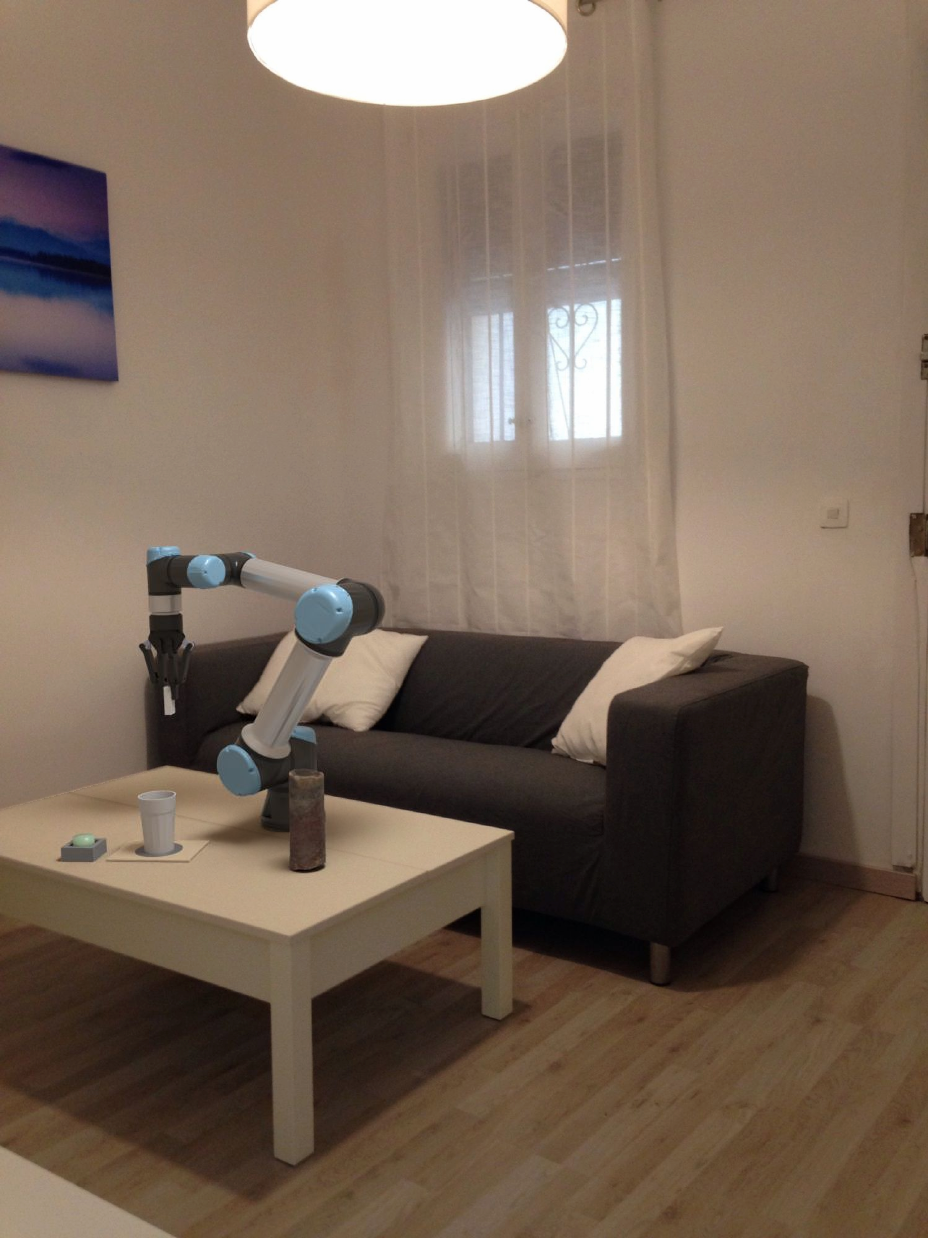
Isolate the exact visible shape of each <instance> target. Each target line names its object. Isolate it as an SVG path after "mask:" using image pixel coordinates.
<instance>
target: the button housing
mask: <svg viewBox="0 0 928 1238" xmlns="http://www.w3.org/2000/svg"><path fill="white" fill-rule="evenodd" d="M94 839H95V843H94V844H93V845H92V846H90V847H83V846H73V839H71V840H70V841H69V842H67V843H65V844H63V846H61V847H60V857H61V858H60V859H61V862H65V863H66V862H70V863H71V862H73V863H74V862H76V863H94V862H95V861H97V860H98V859H99V858H101V857H102V856H103V855H105V854H106V853H107V852H108V847H107V846H108V844H107V843H108V842H107V838H106V837H94Z"/></svg>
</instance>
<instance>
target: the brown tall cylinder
mask: <svg viewBox="0 0 928 1238" xmlns="http://www.w3.org/2000/svg"><path fill="white" fill-rule="evenodd" d="M325 813H326V810H325V775H324V773H323V771H318V770H317V771H314V770H311V769H294V770H292V771H290V772H289V815H290V816H289V818H290V831H289V868H290V869H292V870H293V871H297V870H305V871H308V870H313V869H316V868H320V867H322V866H323V865H325V863H326V862H327V858H326V857H327V850H326V849H327V848H326V840H327V839H326V822H325Z"/></svg>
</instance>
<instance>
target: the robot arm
mask: <svg viewBox="0 0 928 1238" xmlns="http://www.w3.org/2000/svg"><path fill="white" fill-rule="evenodd" d="M145 562H146V563H145V567H146V577H147V578H146V579H147V598H148V600H147V601H148V602H147V605H148V612H149V613H151V614H149V615H148V624H149V625H148V626H149V634H148V637H147V639H146V640H145V641H144V642H141V643H139V645H138V648H139V649H140V651H141V652H142V654H143V657H144V661H145V664H146V668H147V671H148V674H149V678H150V682H151V684H153V685H157V686H158V687H159V697H160V700H161V701H164V715H165V716H167V715H169V716H172V715H173V714H175V713H176V707H175V706H176V704H175V703H176V702H175V701H176V700H178V698H179V685H181V684H183V683H185V682H186V681H187V675H188V671H189V670H188V669H189V665H190V661H191V656H192V655H191V654H192V653H193V650H194V648H195V647H196V643H195V641H190V640H189V639H187V638H186V635H185V633H184V621H183V618H184V617H183V614H182V613H181V612H182V611H183V600H182V599H183V597H182V596H183V595H182V593H183V592H182V588H183V589H184V588H185V589H199V590H211V589H217V588H218V587H226V586H235V587H239V588H241V589H246V590H250V591H254V592H257V593H261V594H263V595H267V596H270V597H274V598H278V599H281V600H284V601H287V602H290V603H294V604H296V605H295V608H294V611H293V617H294V619H295V621H294V626H295V627H294V630H293V633H294V636H295V638H296V641H295V643H294V645H293V647H292V648H291V651H290V653H289V655H288V657H287V659H286V661H285V662H284V664H283V666H282V669H280V670H281V671H280V672H279V674H278V676H277V678H276V679H275V681H274V683H273V685H272V688H271V689H270V691H269V693H268V695H267V696H266V699H265V700H264V702H263V704H262V706H261V708H260V710H259V712H258V714H257V716H256V718H254V719H255V720H254V721H253V723H248V724H246V725H245V726H244V727H242V730H241V731H240V733H239V735H238V737H237V739H236V741H235V742H234V744H229V745H227V746H226V747H224V748H222V749H221V750H220V752H219V754H218V756H217V760H216V761H217V762H216V770H217V773H218V776H219V780H220V781H221V784H222V785H223V786H224V788H225V789H226V790H227V791H228V792H230V794H233V795H235V796H238V797H248V796H254V795H257V794H258V793H261V792H264V791H267V792H266V796H265V797H264V798H265V799H264V802H263V806H262V809H261V813H260V826H261V827H262V828H264V829H266V830H268V831H269V830H270V831H276V832H290V818H289V816H290V815H289V772H290V771H292V770H294V769H311V770H314V771H318V767H317V765H318V764H317V762H318V761H317V758H318V757H317V746H318V743H317V738H316V737H317V736H316V732H315V730H314V729H313V728H312V727H309V726H304V725H299V724H298V723H299V722H300V720H301V718H302V717H303V714H304V713H305V710H306V709H307V707H308V705H309V703H310V702H311V700H312V698H313V696H314V694H315V692H316V691H317V689H318V687H319V685H320V683H321V681H322V680H323V677H324V676H325V674H326V672H327V670H329V669H328V668H329V667H330V664H331V663H332V662H333V660H334V659H340V658H341V657H343V656H344V653H345V652H346V650H347V648H348V647H349V644H350V642H351V641H352V640H353V638H355V637H356V638H357V637H361V636H364V635H368V634H371V633H372V632H374V631H375V630H376V629H377V628H378V627H380V625H381V624H382V622H383V621H384V618H385V615H386V602H385V598H384V596H383V594H382V592H381V591H380V590H379V589H378V588H377V587H376V586H375V585H373V584H372V583H369V582H365V581H360V580H356V579H352V578H347V577H341V578H340V579H338V580H337V579H334V578H330V577H327V576H323V575H319V574H316V573H312V572H308V571H304V570H301V569H297V568H294V567H290V566H286V565H282V564H278V563H275V562H271V561H267V560H264V559H259V558H257V556H256V555H254V554H253V553H251V552H244V551H236V552H235V551H234V552H226V553H225V552H224V553H214V554H213V553H210V554H194V555H193V554H192V555H190V554H189V555H183V554H181V551H180V548H179V546H176V545H170V546H169V545H165V546H151V547H149V548H147V550H146V561H145ZM152 647H153V649H154V650H155V651H156V657H157V664H156V661H155V656H154V654H153V653H154V652H153V651H152ZM181 647H182V649H183V651H182V656H181V660H180V666H178V663H179V662H178V654H179V650H180V648H181ZM167 660H168V661H167ZM168 671H169V675H168ZM168 676H169V681H168ZM326 815H327V814H326V812H325V823H326V820H327V819H326V818H327V816H326Z"/></svg>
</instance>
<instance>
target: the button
mask: <svg viewBox="0 0 928 1238" xmlns="http://www.w3.org/2000/svg"><path fill="white" fill-rule="evenodd" d="M94 838H95V834H94V833H90V832H87V833H85V832H84V833H83V832H82V833H79V834H75V835H73V836H72V840H73V846H83V847H90V846H92V845H93V844H94V843H95V839H94Z"/></svg>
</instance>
